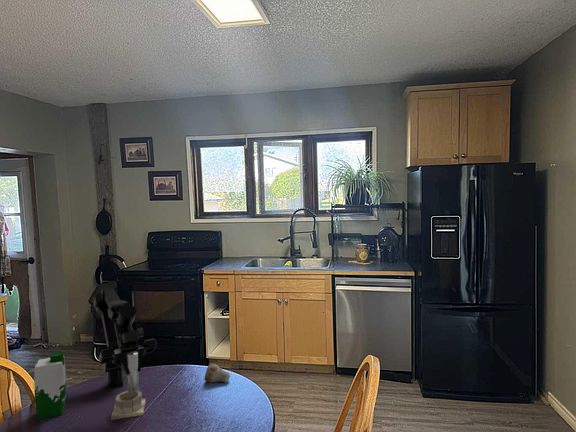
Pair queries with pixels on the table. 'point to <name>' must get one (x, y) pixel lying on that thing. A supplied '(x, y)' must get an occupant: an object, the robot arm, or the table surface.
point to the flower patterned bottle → (216, 374)
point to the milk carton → (50, 386)
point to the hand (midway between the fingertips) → (133, 373)
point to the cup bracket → (128, 405)
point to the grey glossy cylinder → (132, 372)
